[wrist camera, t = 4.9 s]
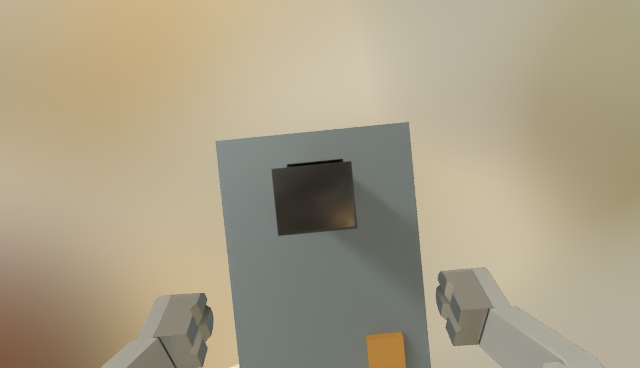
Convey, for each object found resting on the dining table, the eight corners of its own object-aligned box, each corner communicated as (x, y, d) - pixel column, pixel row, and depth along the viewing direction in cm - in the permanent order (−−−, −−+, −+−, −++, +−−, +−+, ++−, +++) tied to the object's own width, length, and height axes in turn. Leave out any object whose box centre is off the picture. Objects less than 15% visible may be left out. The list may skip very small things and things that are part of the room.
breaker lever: (278, 235, 13) (271, 168, 13) (302, 202, 29) (299, 172, 29) (357, 228, 13) (351, 161, 13) (338, 198, 29) (335, 168, 29)
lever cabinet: (261, 600, 22) (212, 140, 21) (281, 463, 33) (248, 151, 32) (452, 583, 22) (411, 120, 21) (410, 451, 33) (381, 138, 32)
